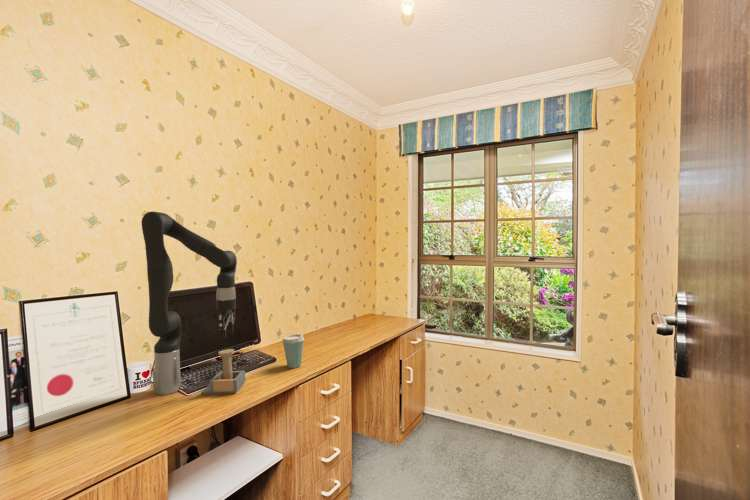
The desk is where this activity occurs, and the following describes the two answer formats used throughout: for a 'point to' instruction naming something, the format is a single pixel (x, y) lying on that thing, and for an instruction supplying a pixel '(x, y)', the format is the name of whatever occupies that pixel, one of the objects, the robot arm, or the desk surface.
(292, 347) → the disposable coffee cup
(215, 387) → the socket
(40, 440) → the desk surface
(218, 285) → the robot arm
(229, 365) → the handle
